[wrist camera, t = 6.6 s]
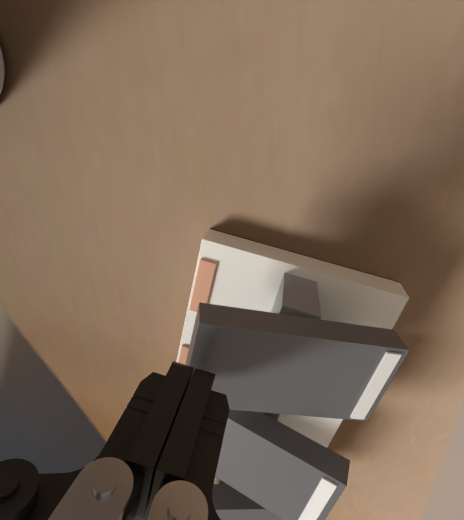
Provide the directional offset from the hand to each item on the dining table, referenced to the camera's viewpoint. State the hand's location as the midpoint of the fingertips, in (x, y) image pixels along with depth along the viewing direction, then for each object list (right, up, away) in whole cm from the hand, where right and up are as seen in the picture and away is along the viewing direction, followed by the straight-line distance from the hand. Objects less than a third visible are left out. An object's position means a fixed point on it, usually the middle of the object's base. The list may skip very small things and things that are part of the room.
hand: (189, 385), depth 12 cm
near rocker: (+4, 0, +2) cm, 4 cm away
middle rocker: (+2, -5, +5) cm, 7 cm away
